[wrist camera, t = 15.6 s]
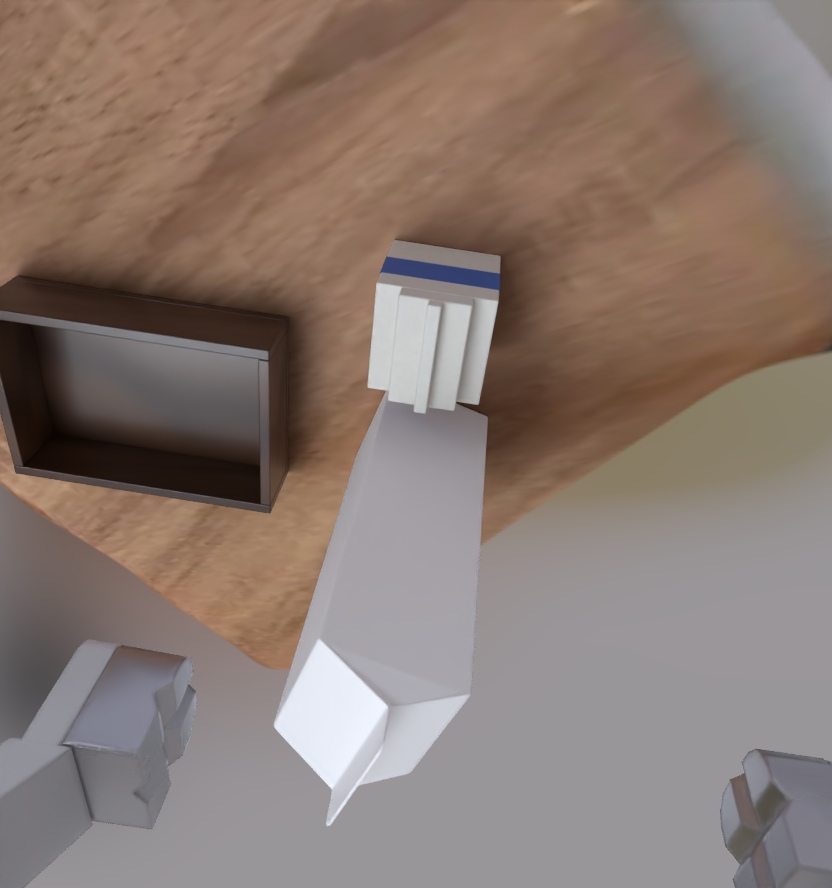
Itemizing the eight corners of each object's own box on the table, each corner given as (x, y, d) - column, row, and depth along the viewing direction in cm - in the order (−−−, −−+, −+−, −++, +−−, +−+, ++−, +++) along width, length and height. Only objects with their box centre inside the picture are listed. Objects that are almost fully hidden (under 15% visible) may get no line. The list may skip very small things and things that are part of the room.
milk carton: (393, 238, 37) (370, 295, 31) (501, 255, 37) (498, 315, 31) (383, 336, 40) (361, 404, 34) (483, 351, 40) (477, 423, 34)
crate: (16, 275, 40) (-29, 305, 37) (289, 316, 40) (269, 350, 37) (50, 435, 46) (15, 473, 43) (287, 472, 46) (270, 513, 43)
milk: (356, 452, 45) (243, 804, 27) (393, 373, 41) (290, 716, 23) (448, 489, 45) (398, 855, 27) (491, 415, 42) (467, 777, 24)
